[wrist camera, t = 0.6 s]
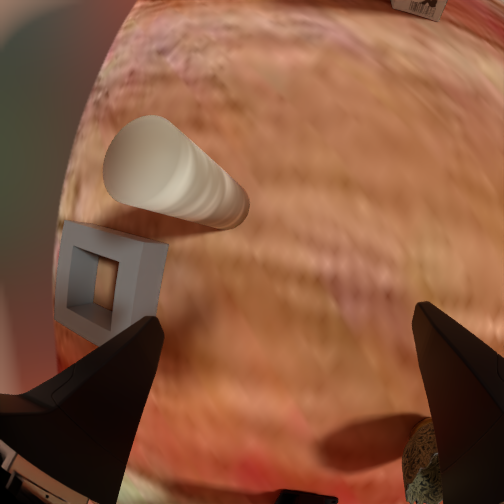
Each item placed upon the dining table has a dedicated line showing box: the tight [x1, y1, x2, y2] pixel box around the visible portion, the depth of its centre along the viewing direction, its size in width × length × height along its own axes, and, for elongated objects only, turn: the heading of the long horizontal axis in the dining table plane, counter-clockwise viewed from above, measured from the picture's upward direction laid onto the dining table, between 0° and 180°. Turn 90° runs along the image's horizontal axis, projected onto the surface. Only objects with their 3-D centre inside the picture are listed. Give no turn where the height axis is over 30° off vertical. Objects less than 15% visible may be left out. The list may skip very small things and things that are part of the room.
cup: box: [402, 417, 443, 504], centre depth 15 cm, size 8×7×8 cm
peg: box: [103, 115, 250, 230], centre depth 17 cm, size 4×4×12 cm
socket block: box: [54, 220, 169, 347], centre depth 23 cm, size 10×10×4 cm
